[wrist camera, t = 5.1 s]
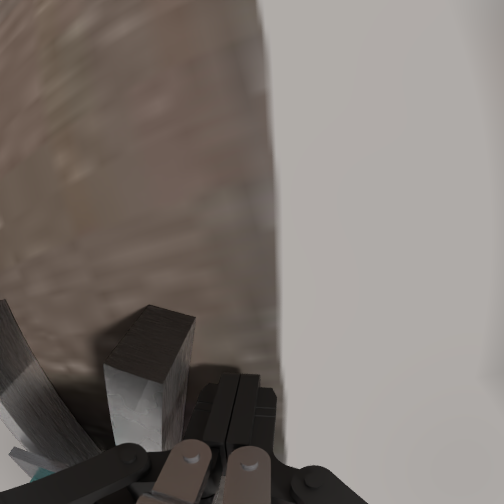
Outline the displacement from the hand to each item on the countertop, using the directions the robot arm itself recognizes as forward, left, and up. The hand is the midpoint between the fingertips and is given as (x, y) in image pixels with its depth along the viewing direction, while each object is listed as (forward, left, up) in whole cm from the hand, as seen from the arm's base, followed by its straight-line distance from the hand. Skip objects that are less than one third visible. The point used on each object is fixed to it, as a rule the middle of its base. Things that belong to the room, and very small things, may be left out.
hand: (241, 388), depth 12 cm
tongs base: (-3, -13, -1) cm, 13 cm away
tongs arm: (0, -7, -1) cm, 7 cm away
